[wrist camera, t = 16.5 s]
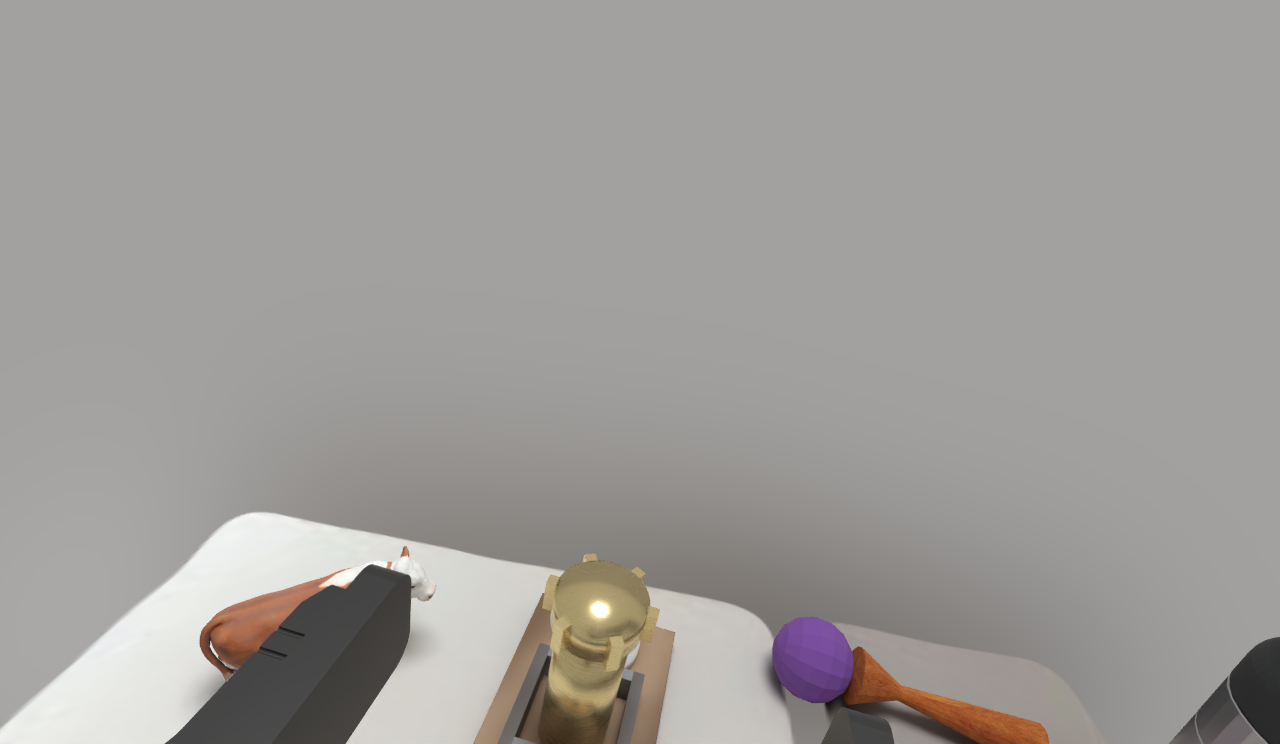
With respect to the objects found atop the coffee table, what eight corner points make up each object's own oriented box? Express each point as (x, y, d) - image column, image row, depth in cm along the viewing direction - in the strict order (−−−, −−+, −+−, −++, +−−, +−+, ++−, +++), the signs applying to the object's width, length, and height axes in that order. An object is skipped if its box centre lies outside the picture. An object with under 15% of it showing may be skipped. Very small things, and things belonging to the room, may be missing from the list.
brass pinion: (630, 703, 42) (667, 576, 36) (608, 792, 36) (647, 658, 31) (541, 673, 43) (565, 544, 37) (506, 755, 37) (528, 618, 32)
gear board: (671, 645, 49) (681, 612, 47) (615, 960, 31) (628, 923, 29) (540, 606, 50) (546, 572, 48) (412, 889, 32) (414, 849, 30)
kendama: (1071, 773, 41) (785, 659, 43) (1019, 804, 44) (757, 698, 46) (1048, 688, 46) (791, 590, 48) (1003, 723, 49) (766, 630, 51)
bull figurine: (436, 657, 44) (442, 573, 41) (209, 726, 37) (192, 631, 34) (422, 611, 47) (426, 530, 44) (211, 668, 40) (196, 575, 37)
